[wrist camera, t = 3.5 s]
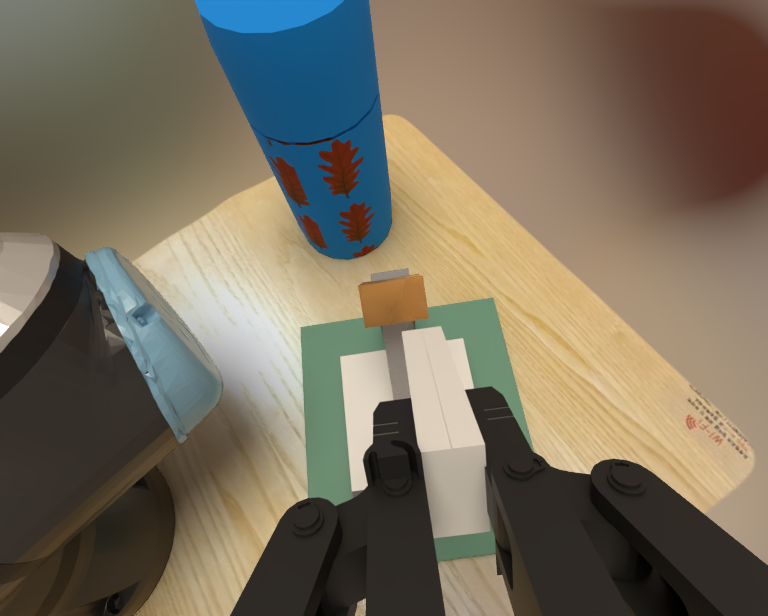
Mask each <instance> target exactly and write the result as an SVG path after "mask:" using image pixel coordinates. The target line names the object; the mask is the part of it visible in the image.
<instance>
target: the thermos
mask: <svg viewBox="0 0 768 616" xmlns="http://www.w3.org/2000/svg"><path fill="white" fill-rule="evenodd" d="M195 2H196V5H197V7H198V11H199V13H200V16H201V19H202V22H203V24H204V27H205V30H206V33H207V35H208V38H209V41H210V43H211V46H212V48H213V50H214V52H215V54H216V56H217V58H218V60H219V62H220V64H221V66H222V68H223V70H224V72H225V74H226V77H227V79H228V80H229V83H230V85H231V87H232V89H233V91H234V93H235V95H236V97H237V99H238V101H239V103H240V105H241V107H242V109H243V111H244V113H245V115H246V118H247V120H248V122H249V123H250V126H251V128H252V130H253V132H254V134H255V136H256V138H257V140H258V142H259V144H260V146H261V148H262V150H263V152H264V154H265V157H266V159H267V161H268V162H269V165H270V167H271V169H272V171H273V173H274V175H275V177H276V179H277V181H278V183H279V185H280V187H281V189H282V191H283V193H284V196H285V198H286V200H287V202H288V204H289V206H290V208H291V210H292V212H293V214H294V216H295V218H296V220H297V222H298V224H299V226H300V228H301V229H302V231H303V233H304V234H305V236H306V238H307V239H308V241H309V243H310V244H311V245H312V246H313V247H314V248H315V249H316V250H317V251H318V252H319V253H322V254H324V255H326V256H329V257H331V258H336V259H352V258H356V257H360V256H364V255H366V254H367V253H369V252H371V251H372V250H374V249H376V248H377V247H378V246H379V245H380V244H381V243H382V242H383V240H384V239H385V238H386V237H387V235H388V232H389V229H390V227H391V224H392V218H391V194H390V183H389V174H388V166H387V157H386V148H385V139H384V130H383V121H382V112H381V104H380V95H379V86H378V78H377V68H376V59H375V51H374V41H373V33H372V23H371V15H370V6H369V0H195Z"/></svg>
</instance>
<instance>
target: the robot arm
mask: <svg viewBox="0 0 768 616" xmlns="http://www.w3.org/2000/svg"><path fill="white" fill-rule="evenodd" d="M402 338H403V345H404V352H405V359H406V367H407V374H408V381H409V388H410V395H411V398H406V399H399V400H391V401H383V402H379V404H378V406H377V407H376V409H375V411H374V412H373V444H372V445H371V446H370V447H369V448H368V449H367V450H366V451H365V454H364V457H363V465H364V470H365V474H366V479H367V484H368V486H367V487H366V488H365V489H364V491H362V492H361V493H360V494H359V495H357V496H356V497H354V498H352V499H350V500H348V501H346V502H344V503H341V504H339V505H336V506H335V505H334V504H333V503H332V502H330V501H329V500H327V499H324V498H320V497H315V498H307V499H305V500H302V501H300V502H297V503H296V504H295V505H293V506H292V507H291V508H289V509H288V510H287V511H286V512H285V514H284V515H283V516H282V518H281V519H280V521H279V523H278V525H277V527H276V529H275V531H274V533H273V534H272V536H271V538H270V540H269V542H268V544H267V546H266V548H265V550H264V552H263V554H262V556H261V558H260V559H259V561H258V563H257V565H256V567H255V569H254V571H253V573H252V575H251V577H250V579H249V581H248V582H247V584H246V586H245V588H244V590H243V592H242V594H241V596H240V598H239V600H238V602H237V604H236V606H235V607H234V609H233V611H232V613H231V615H230V616H355V612H356V608H357V602H359V601H361V600H363V599H365V598H366V616H445V609H444V603H443V596H442V590H441V583H440V577H439V570H438V563H437V557H436V550H435V544H434V538H441V537H449V536H458V535H466V534H474V533H483V532H490V522H491V525H492V528H493V532H494V535H495V547H496V565H497V575H503V578H504V581H505V585H506V588H507V592H508V595H509V598H510V602H511V605H512V608H513V612H514V615H515V616H768V565H766V564H765V563H764V562H762V561H761V560H760V559H759V558H758V557H757V556H755V555H754V554H753V553H752V552H750V551H749V550H748V549H747V548H745V547H744V546H743V545H742V544H740V543H739V542H738V541H737V540H735V539H734V538H733V537H732V536H730V535H729V534H728V533H727V532H725V531H724V530H723V529H722V528H721V527H719V526H718V525H717V524H715V523H714V522H713V521H712V520H710V519H709V518H708V517H707V516H706V515H704V514H703V513H702V512H701V511H699V510H698V509H697V508H696V507H694V506H693V505H692V504H691V503H690V502H688V501H687V500H686V499H685V498H683V497H682V496H681V495H680V494H678V493H677V492H676V491H675V490H673V489H672V488H671V487H670V486H668V485H667V484H666V483H665V482H663V481H662V480H661V479H660V478H658V477H657V476H656V475H655V474H654V473H652V472H651V471H649V470H647V469H646V468H644V467H643V466H641V465H639V464H636V463H633V462H630V461H627V460H619V459H610V460H603V461H601V462H599V463H598V464H596V465H594V467H593V469H592V471H591V475H590V474H582V473H574V472H568V471H563V470H559V469H556V468H553V467H551V466H550V465H549V464H548V463H547V462H546V461H545V459H544V458H543V457H541V456H539V455H538V454H536V453H534V452H533V451H532V449H531V447H530V445H529V443H528V442H527V440H526V438H525V436H524V434H523V432H522V430H521V428H520V426H519V424H518V422H517V421H516V419H515V417H514V416H513V413H512V411H511V409H510V408H509V405H508V403H507V401H506V400H505V398H504V396H503V394H501V393H500V392H499V391H497V390H496V389H495V388H493V387H492V386H489V387H481V388H474V389H466V390H465V389H464V387H463V384H462V381H461V379H460V376H459V373H458V371H457V368H456V365H455V363H454V360H453V357H452V355H451V352H450V349H449V347H448V344H447V341H446V339H445V336H444V333H443V330H442V328H441V326H438V327H431V328H423V329H416V330H409V331H402ZM222 389H223V382H222V378H221V375H220V373H219V371H218V369H217V367H216V365H215V364H214V362H213V360H212V359H211V358H210V356H209V355H208V353H207V352H206V350H205V349H204V348H203V346H202V345H201V344H200V342H199V341H198V340H197V338H196V337H195V336H194V334H193V333H192V332H191V330H190V329H189V328H188V327H187V325H186V324H185V323H184V322H183V320H182V319H181V318H180V317H179V316H178V314H177V313H176V312H175V311H174V310H173V308H172V307H171V306H170V305H169V304H168V302H167V301H166V300H165V299H164V298H163V297H162V295H161V294H160V293H159V292H158V291H157V290H156V289H155V287H154V286H153V285H152V284H151V283H150V282H149V281H148V280H147V279H146V278H145V276H144V275H143V274H142V273H141V272H140V271H139V270H138V269H137V268H136V267H135V266H134V265H133V264H132V263H131V262H130V261H129V260H127V259H126V258H124V257H123V256H122V255H121V254H120V253H119V252H118V251H117V250H115V249H113V248H110V247H103V248H101V249H99V250H98V251H89V252H88V253H87V254H85V260H84V261H82V260H80V259H77V258H76V257H74V256H73V255H72V254H70V253H69V252H67V251H66V250H65V249H63V248H62V247H61V246H59V245H58V244H57V243H55V242H54V241H53V240H51V239H49V238H48V237H46V236H44V235H42V234H36V233H0V616H133V615H134V614H135V613H136V611H137V610H138V609H139V608H140V607H141V606H142V605H143V603H144V602H145V601H146V600H147V598H148V597H149V595H150V594H151V592H152V591H153V589H154V588H155V586H156V584H157V583H158V581H159V579H160V577H161V575H162V573H163V570H164V568H165V566H166V563H167V560H168V557H169V554H170V550H171V546H172V541H173V535H174V507H173V501H172V497H171V493H170V490H169V488H168V485H167V483H166V481H165V479H164V478H163V476H162V474H161V473H160V472H159V471H158V469H157V468H156V467H155V465H156V464H157V463H159V462H160V461H161V460H162V459H163V458H164V457H165V456H166V455H168V454H169V453H170V452H171V451H172V450H173V449H174V448H176V447H177V446H178V445H179V444H182V443H183V442H184V441H185V440H186V439H187V437H188V434H189V433H190V432H191V431H192V430H193V429H194V428H195V427H196V426H197V425H198V424H199V423H200V422H201V421H202V420H203V419H204V418H205V416H206V415H207V414H208V413H209V412H210V411H211V410H212V409H213V408H214V407H215V406H216V405H217V403H218V401H219V400H220V398H221V395H222Z"/></svg>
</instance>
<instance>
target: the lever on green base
mask: <svg viewBox="0 0 768 616" xmlns="http://www.w3.org/2000/svg"><path fill="white" fill-rule="evenodd" d="M402 276H409V270H408V268H407V269H400V270H394V271H388V272H381V273H375V274H371V280H372V281H376V280H383V279H389V278H395V277H402ZM427 309H428V316H429V319H422V320H416V321H413V326H414V330H416V329H423V328H431V327H438V326H441V328H442V330H443V333H444V336H445V339H446V341H447V344H448V347H449V349H450V352H451V355H452V357H453V360H454V363H455V365H456V368H457V371H458V373H459V376H460V379H461V381H462V384H463V387H464V389H465V390H466V389H474V388H481V387H489V386H492V387H493V388H495V389H496V390H497V391H499V392H500V393H501V394H503V396H504V398H505V400H506V401H507V403H508V405H509V408H510V409H511V411H512V413H513V416H514V417H515V419H516V421H517V422H518V424H519V426H520V428H521V430H522V432H523V434H524V436H525V438H526V440H527V442H528V443H529V445H530V447H531V449H532V451H533V452H534V450H533V446H532V442H531V438H530V435H529V431H528V427H527V423H526V419H525V416H524V412H523V408H522V404H521V401H520V397H519V393H518V389H517V386H516V382H515V378H514V374H513V370H512V367H511V363H510V359H509V355H508V352H507V348H506V344H505V340H504V337H503V333H502V329H501V325H500V321H499V318H498V314H497V310H496V306H495V303H494V299H493V298H488V299H482V300H475V301H469V302H462V303H456V304H449V305H443V306H436V307H430V308H427ZM301 347H302V369H303V390H304V412H305V433H306V454H307V476H308V497H309V498H315V497H320V498H324V499H327V500H329V501H330V502H332V503H333V504H334V505H335V506H336V505H339V504H341V503H344V502H346V501H348V500H350V499H352V498H354V497H356V496H357V495H359V494H360V493H361V492H362V491H364V489H365V488H366V487H367V486H368V484H367V479H366V474H365V470H364V465H363V457H364V454H365V451H366V450H367V449H368V448H369V447H370V446H371V445H372V444H373V412H374V411H375V409H376V407H377V406H378V404H379V402H383V401H391V400H394V399H393V393H392V387H391V381H390V374H389V368H388V362H387V355H386V349H385V343H384V337H383V330H382V326H376V327H370V328H365V323H364V318H358V319H352V320H345V321H339V322H332V323H326V324H319V325H313V326H306V327H301ZM434 544H435V550H436V557H437V561H445V560H452V559H460V558H467V557H475V556H482V555H490V554H496V547H495V535H494V532H493V528H492V525H491V522H490V532H483V533H474V534H466V535H458V536H449V537H441V538H434Z"/></svg>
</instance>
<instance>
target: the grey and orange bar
mask: <svg viewBox="0 0 768 616" xmlns="http://www.w3.org/2000/svg"><path fill="white" fill-rule="evenodd" d="M358 287H359V293H360V299H361V305H362V311H363V317H364V323H365V328H370V327H376V326H382V330H383V337H384V343H385V349H386V355H387V362H388V368H389V374H390V381H391V387H392V393H393V399H394V400H399V399H406V398H411V395H410V388H409V381H408V374H407V367H406V359H405V352H404V345H403V338H402V331H409V330H414V326H413V321H416V320H422V319H429V316H428V309H427V302H426V295H425V288H424V281H423V276H422V275H419V274H415V275H409V276H402V277H395V278H389V279H383V280H376V281H371V282H364V283H362V284H360V285H359V286H358Z"/></svg>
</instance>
